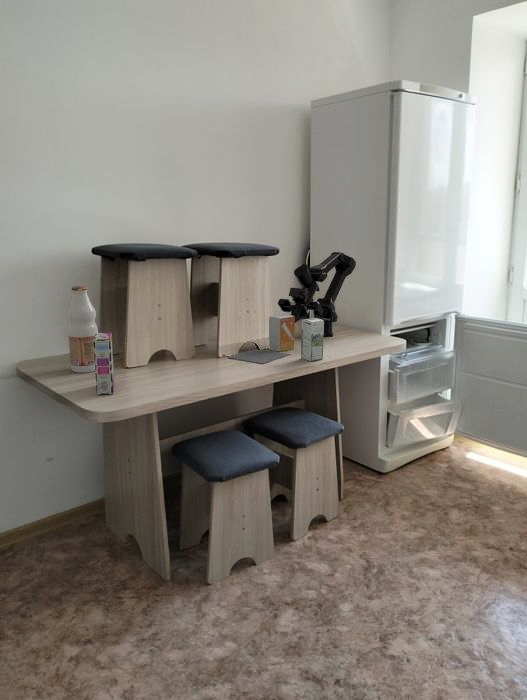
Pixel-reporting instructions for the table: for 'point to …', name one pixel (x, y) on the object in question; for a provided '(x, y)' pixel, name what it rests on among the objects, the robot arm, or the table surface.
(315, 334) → the syrup box
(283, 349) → the small box
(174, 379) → the table surface
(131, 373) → the table surface
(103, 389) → the candy bar box
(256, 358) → the felt mat
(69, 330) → the fruit juice
